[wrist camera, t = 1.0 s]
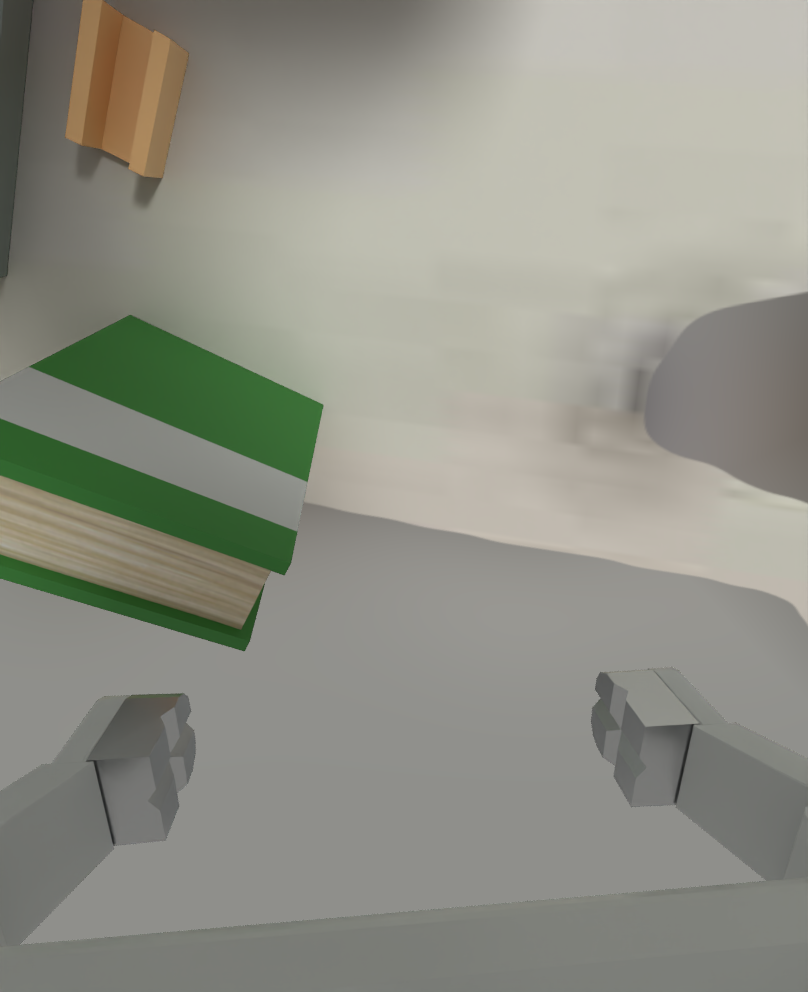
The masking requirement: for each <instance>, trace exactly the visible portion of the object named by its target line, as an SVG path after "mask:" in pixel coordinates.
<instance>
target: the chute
mask: <svg viewBox="0 0 808 992" xmlns="http://www.w3.org/2000/svg"><path fill="white" fill-rule="evenodd" d="M188 56H189V53H188V52H186V51H185V50H184V49H183V48H181V47H180V46H179V45H178V44H176V43H175V42H174V41H172V40H171V39H170V38H168V37H166V36H164V35H163V34H161V33H159V32H158V31H156V30H154V32H152V31H150V30H148V29H147V28H145V27H143V26H141V25H140V24H138V23H136V22H134V21H133V20H131V19H129V18H127V17H126V16H124V15H122V14H121V13H120V12H118V11H117V10H116V9H114V8H113V7H112V6H110V5H109V4H108V3H106V2H105V1H103V0H83V4H82V12H81V20H80V27H79V35H78V42H77V50H76V58H75V65H74V73H73V80H72V88H71V96H70V103H69V111H68V118H67V126H66V134H65V138H67V139H69V140H71V141H73V142H75V143H77V144H79V145H82V146H87V147H93V148H99V149H102V150H104V151H106V152H108V153H110V154H112V155H114V156H116V157H118V158H120V159H122V160H124V161H126V162H128V163H129V168H128V169H129V170H132V171H134V172H136V173H138V174H140V175H142V176H144V177H156V178H163V173H164V168H165V164H166V159H167V154H168V150H169V145H170V140H171V136H172V131H173V126H174V122H175V117H176V112H177V108H178V103H179V98H180V94H181V89H182V84H183V80H184V75H185V70H186V66H187V61H188Z"/></svg>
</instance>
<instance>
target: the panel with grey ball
mask: <svg viewBox="0 0 808 992" xmlns="http://www.w3.org/2000/svg"><path fill="white" fill-rule="evenodd" d="M32 5H33V0H0V277H3V276H7V268H8V257H9V247H10V236H11V226H12V215H13V205H14V194H15V184H16V173H17V163H18V152H19V142H20V131H21V121H22V110H23V100H24V89H25V79H26V68H27V58H28V47H29V37H30V26H31V16H32Z"/></svg>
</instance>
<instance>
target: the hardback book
mask: <svg viewBox="0 0 808 992" xmlns="http://www.w3.org/2000/svg"><path fill="white" fill-rule="evenodd" d="M322 409H323V404H320V403H318V402H316V401H314V400H312V399H310V398H308V397H305V396H303V395H301V394H299V393H297V392H295V391H293V390H290V389H288V388H286V387H284V386H282V385H280V384H277V383H275V382H273V381H271V380H269V379H267V378H265V377H262V376H260V375H258V374H256V373H254V372H252V371H250V370H247V369H245V368H243V367H241V366H239V365H237V364H234V363H232V362H230V361H228V360H226V359H224V358H222V357H219V356H217V355H215V354H213V353H211V352H209V351H207V350H204V349H202V348H200V347H198V346H196V345H194V344H191V343H189V342H187V341H185V340H183V339H181V338H179V337H176V336H174V335H172V334H170V333H168V332H166V331H164V330H161V329H159V328H157V327H155V326H153V325H151V324H148V323H146V322H144V321H142V320H140V319H138V318H136V317H133V316H131V315H129V316H127V317H125V318H123V319H121V320H119V321H117V322H115V323H114V324H112V325H110V326H108V327H106V328H104V329H102V330H100V331H98V332H96V333H94V334H92V335H90V336H88V337H86V338H84V339H82V340H80V341H78V342H76V343H74V344H72V345H70V346H69V347H67V348H65V349H63V350H61V351H59V352H57V353H55V354H53V355H51V356H49V357H47V358H45V359H43V360H41V361H39V362H37V363H35V364H33V365H31V366H29V367H27V368H26V369H24V370H22V371H20V372H18V373H16V374H14V375H12V376H10V377H8V378H6V379H4V380H2V381H0V579H4V580H7V581H11V582H14V583H17V584H21V585H24V586H27V587H31V588H34V589H37V590H41V591H44V592H48V593H51V594H54V595H57V596H61V597H65V598H68V599H71V600H74V601H78V602H81V603H84V604H88V605H91V606H94V607H98V608H101V609H105V610H108V611H111V612H115V613H118V614H121V615H124V616H128V617H131V618H135V619H138V620H141V621H145V622H148V623H151V624H155V625H158V626H162V627H165V628H168V629H171V630H175V631H178V632H181V633H185V634H188V635H192V636H195V637H198V638H202V639H205V640H208V641H212V642H215V643H218V644H222V645H225V646H228V647H232V648H235V649H239V650H242V651H245V649H246V647H247V645H248V643H249V642H250V638H251V634H252V631H253V627H254V623H255V619H256V615H257V611H258V608H259V604H260V600H261V596H262V592H263V588H264V585H265V581H266V579H267V577H268V576H269V574H270V571H274V572H277V573H279V574H282V575H285V573H286V571H287V570H288V567H289V566H290V564H291V560H292V555H293V550H294V545H295V541H296V536H297V531H298V526H299V521H300V516H301V511H302V506H303V502H304V497H305V492H306V487H307V482H308V477H309V472H310V468H311V463H312V458H313V453H314V448H315V443H316V438H317V434H318V429H319V424H320V419H321V414H322Z"/></svg>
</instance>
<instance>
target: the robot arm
mask: <svg viewBox="0 0 808 992" xmlns="http://www.w3.org/2000/svg"><path fill="white" fill-rule="evenodd" d="M595 690H596V692H597V693H598V695H599V696H600V698H601V699H600V700H599V701H598V702H597V703H596V704H595V705H594V706H593V708H592V717H591V724H592V731H593V737H594V740H595V743H596V745H597V748H598V750H599V751H600V753H601V755H602V757H603V758H605V759H606V760H607V761H609V762H610V763H612V764H613V765H615V771H614V778H615V780H616V782H617V783H618V785H619V787H620V789H621V790H622V792H623V794H624V796H625V797H626V799H627V801H628V802H629V804H630V806H631V807H640V806H663V805H676V808H677V809H678V810H680V811H681V812H682V813H683V814H685V815H686V816H687V817H688V818H689V819H691V820H692V821H693V822H694V823H696V824H697V825H698V826H699V827H701V828H702V829H703V830H704V831H706V832H707V833H708V834H709V835H711V836H712V837H713V838H714V839H715V840H717V841H718V842H719V843H720V844H722V845H723V846H724V847H725V848H727V849H728V850H729V851H730V852H732V853H733V854H734V855H735V856H737V857H738V858H739V859H740V860H742V861H743V862H744V863H745V864H746V865H748V866H749V867H750V868H751V869H752V870H754V871H755V872H756V873H758V874H759V875H760V876H761V877H762V878H764V879H765V880H766V881H759V882H748V883H736V884H725V885H713V886H701V887H691V888H690V887H689V888H678V889H666V890H656V891H643V892H632V893H621V894H620V893H619V894H608V895H595V896H584V897H572V898H560V899H549V900H537V901H525V902H513V903H501V904H491V905H478V906H466V907H455V908H444V909H431V910H420V911H408V912H397V913H385V914H373V915H361V916H350V917H338V918H326V919H315V920H303V921H291V922H280V923H269V924H258V925H257V924H256V925H245V926H234V927H221V928H210V929H198V930H188V931H176V932H163V933H152V934H140V935H129V936H117V937H105V938H93V939H82V940H71V941H58V942H47V943H35V944H23V945H20V944H21V943H22V942H23V941H24V940H25V939H26V938H27V937H28V936H29V935H30V934H31V933H32V932H33V931H34V930H35V929H36V928H37V927H38V926H39V925H40V923H42V922H43V920H45V918H46V917H48V915H49V914H50V913H51V912H52V911H53V910H54V909H55V908H56V907H57V906H58V905H59V904H60V903H61V902H62V901H63V900H64V899H65V898H66V897H67V896H68V895H69V894H70V893H71V892H72V891H73V890H74V889H75V888H76V887H77V886H78V885H79V884H80V883H81V882H82V881H83V880H84V879H85V878H86V877H87V876H88V875H89V874H90V873H91V872H92V871H93V870H94V869H95V867H97V865H98V864H100V863H101V862H102V861H103V859H104V858H105V857H106V856H107V855H108V854H109V853H110V852H111V851H112V850H113V849H114V846H117V845H126V844H136V843H147V842H156V841H165V840H166V838H167V836H168V833H169V830H170V828H171V826H172V823H173V821H174V818H175V815H176V813H177V810H178V808H179V802H178V796H177V793H178V792H179V791H180V790H182V789H183V788H184V787H185V786H186V785H187V784H188V782H189V779H190V776H191V773H192V771H193V765H194V759H195V754H196V753H195V752H196V745H195V744H196V742H195V733H194V730H193V729H192V728H191V727H190V726H189V725H188V724H187V723H186V721H187V719H188V717H189V714H190V712H191V708H190V703H189V698H188V696H186V695H185V694H184V693H182V694H149V695H131V696H129V695H126V696H125V695H124V696H104V697H102V698H100V699H99V700H97V701H96V703H95V704H94V705H93V707H92V708H91V709H90V711H89V712H88V714H87V715H86V716H85V718H84V719H83V720H82V722H81V723H80V725H79V726H78V728H77V729H76V730H75V731H74V733H73V734H72V736H71V737H70V738H69V740H68V741H67V743H66V744H65V745H64V747H63V748H62V750H61V751H60V752H59V754H58V755H57V756H56V758H55V759H54V760H53V762H52V763H51V764H43V765H40V766H39V767H37V768H36V769H34V770H33V771H31V772H29V773H28V774H26V775H25V776H23V777H22V778H20V779H18V780H17V781H15V782H14V783H12V784H10V785H9V786H7V787H6V788H4V789H3V790H1V791H0V992H808V758H806V757H804V756H802V755H800V754H798V753H796V752H794V751H792V750H790V749H788V748H786V747H784V746H782V745H780V744H778V743H776V742H774V741H772V740H770V739H768V738H766V737H764V736H762V735H760V734H758V733H756V732H754V731H752V730H750V729H748V728H746V727H744V726H742V725H740V724H738V723H736V722H735V723H728V722H727V721H726V720H725V719H724V718H723V717H722V716H721V715H720V714H719V713H718V712H717V710H716V709H715V708H714V707H713V706H712V705H711V704H710V703H709V702H708V701H707V700H706V699H705V698H704V697H703V696H702V695H701V694H700V692H699V691H698V690H697V689H696V688H695V687H694V686H693V685H692V684H691V683H690V682H689V681H688V680H687V679H686V678H685V677H684V675H683V674H681V672H680V671H679V670H677V669H675V668H673V667H665V668H652V669H647V670H633V671H614V672H600V673H599V675H598V677H597V680H596V686H595Z"/></svg>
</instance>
